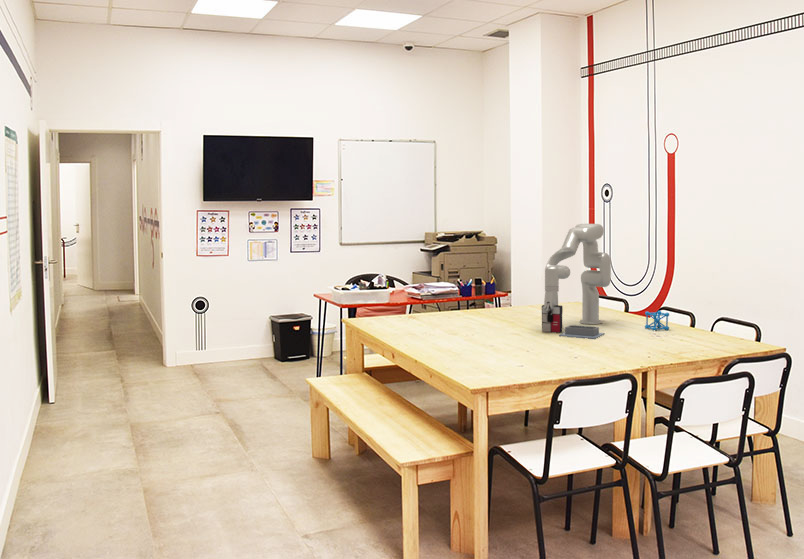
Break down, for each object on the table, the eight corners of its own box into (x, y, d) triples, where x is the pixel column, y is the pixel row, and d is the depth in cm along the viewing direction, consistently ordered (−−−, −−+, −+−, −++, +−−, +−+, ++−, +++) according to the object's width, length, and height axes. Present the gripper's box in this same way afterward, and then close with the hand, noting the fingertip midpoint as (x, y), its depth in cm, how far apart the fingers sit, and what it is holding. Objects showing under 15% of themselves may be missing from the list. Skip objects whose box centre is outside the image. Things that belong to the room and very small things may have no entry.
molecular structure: (669, 330, 407) (670, 312, 406) (653, 331, 405) (654, 313, 404) (659, 327, 417) (660, 310, 416) (643, 328, 415) (644, 311, 414)
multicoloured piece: (541, 332, 410) (541, 305, 408) (544, 330, 414) (543, 304, 412) (560, 333, 405) (560, 306, 403) (562, 331, 408) (562, 305, 406)
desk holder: (569, 331, 410) (569, 323, 409) (604, 334, 399) (604, 326, 399) (559, 336, 396) (559, 328, 396) (595, 339, 386) (595, 330, 385)
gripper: (550, 287, 415) (550, 318, 417) (539, 290, 401) (539, 323, 403) (563, 287, 411) (563, 319, 413) (552, 290, 397) (552, 324, 399)
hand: (551, 321), depth 408 cm, fingers closed on multicoloured piece, 3 cm apart
